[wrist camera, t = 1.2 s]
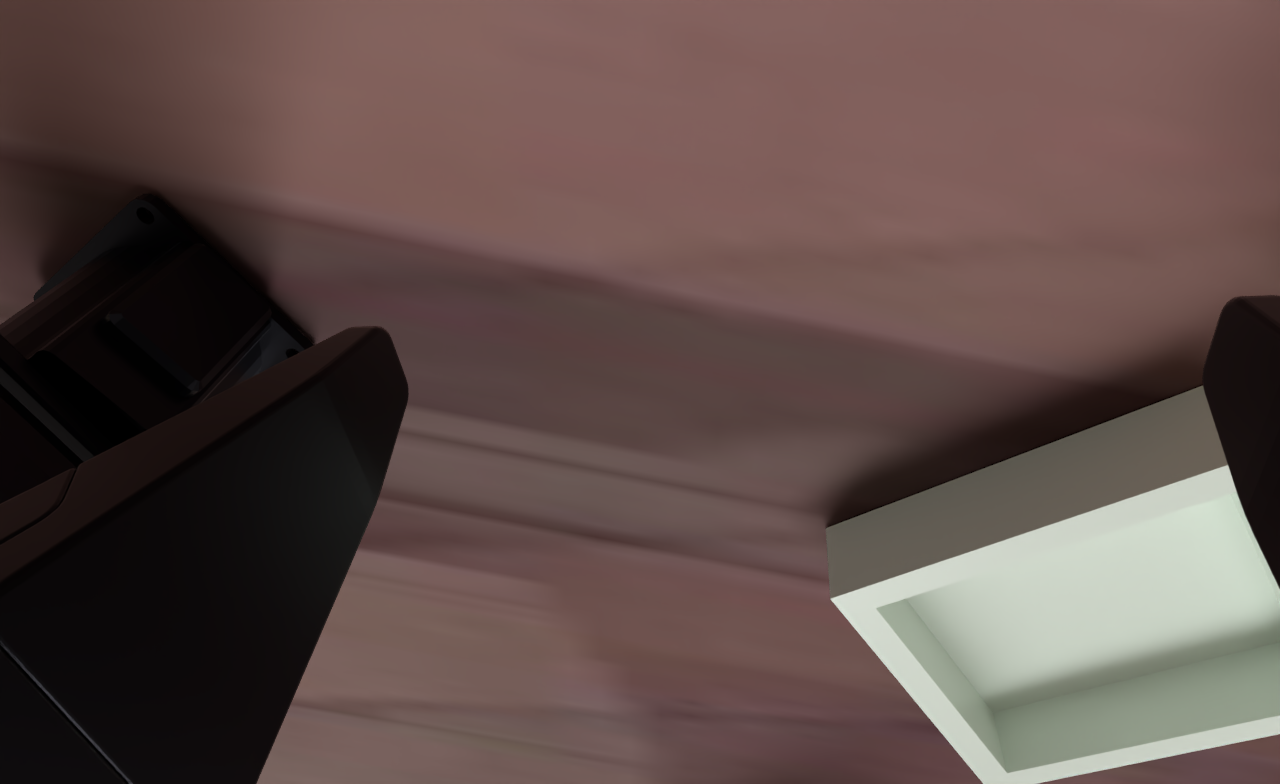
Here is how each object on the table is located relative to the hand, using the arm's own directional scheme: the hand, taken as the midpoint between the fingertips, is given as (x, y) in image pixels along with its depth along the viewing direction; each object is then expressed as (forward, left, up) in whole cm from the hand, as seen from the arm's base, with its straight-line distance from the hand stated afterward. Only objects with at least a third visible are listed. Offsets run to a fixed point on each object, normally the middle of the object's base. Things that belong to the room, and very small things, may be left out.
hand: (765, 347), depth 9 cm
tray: (0, -20, -13) cm, 24 cm away
